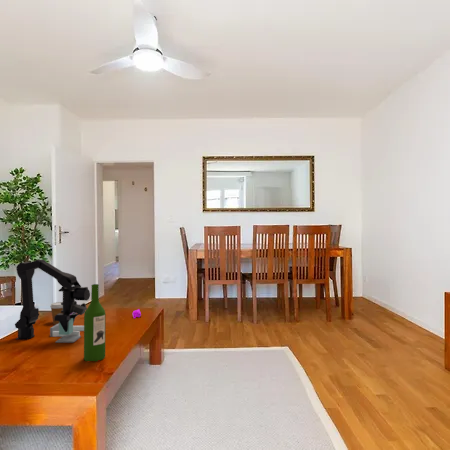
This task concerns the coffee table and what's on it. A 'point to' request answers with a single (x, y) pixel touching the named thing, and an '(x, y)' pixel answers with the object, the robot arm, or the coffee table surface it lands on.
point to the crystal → (136, 313)
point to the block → (70, 328)
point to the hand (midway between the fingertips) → (68, 330)
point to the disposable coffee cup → (56, 310)
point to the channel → (55, 333)
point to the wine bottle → (94, 328)
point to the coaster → (68, 339)
